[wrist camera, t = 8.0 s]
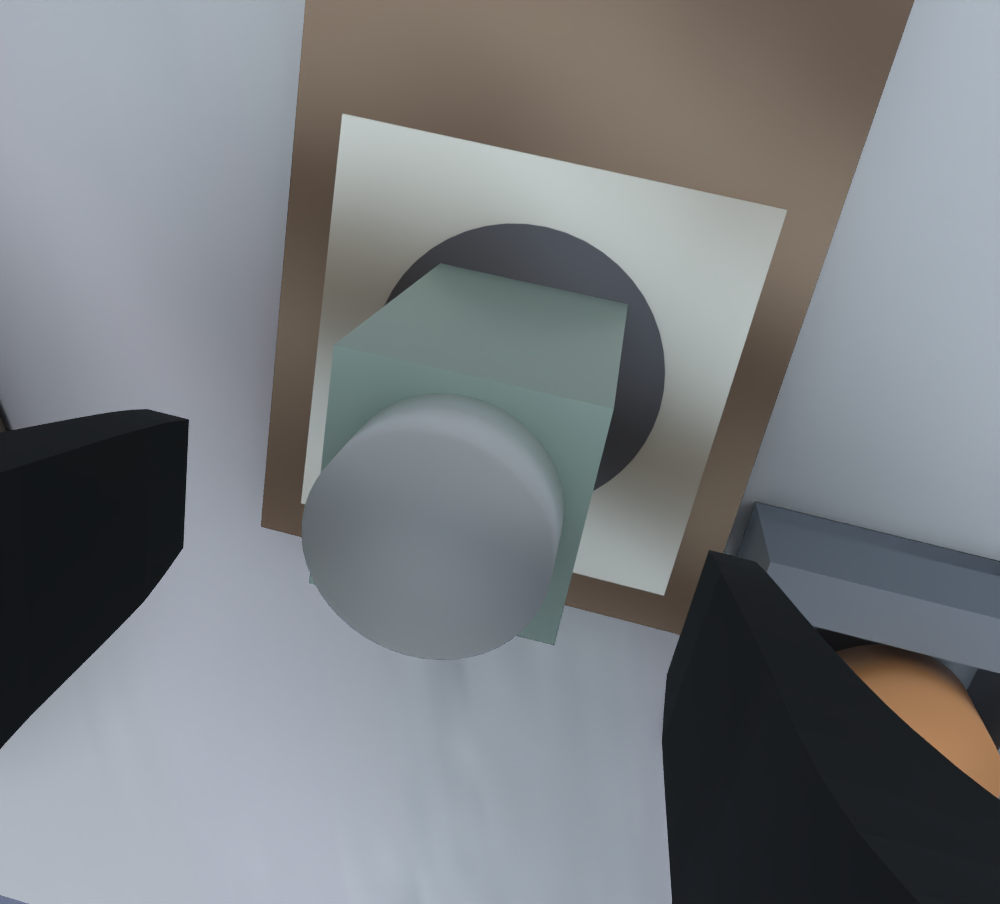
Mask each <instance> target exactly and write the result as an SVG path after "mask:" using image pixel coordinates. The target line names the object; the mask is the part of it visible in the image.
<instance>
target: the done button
mask: <svg viewBox="0 0 1000 904" xmlns="http://www.w3.org/2000/svg"><path fill="white" fill-rule="evenodd" d="M836 653H837V654H838V655H839V656H840V657H841V659H842V660H843V661H844V662H845V663H846V664H847V665H848V666H849V667H850V668H851V669H852V670H853V671H854V672H855V673H856V674H857V675H858V676H859V677H860V678H861V679H862V681H863V682H864V683H865V684H866V685H867V686H868V687H869V688H870V689H871V690H872V691H873V692H874V693H875V694H876V695H877V696H878V697H879V698H880V699H881V700H882V701H883V702H884V703H885V704H886V705H887V706H888V707H890V708H891V709H892V710H893V711H894V712H895V713H896V714H897V715H898V716H899V717H900V718H901V719H902V720H903V721H905V722H906V723H907V724H908V725H909V726H910V727H911V728H912V729H913V730H915V731H916V732H917V733H918V734H919V735H920V736H922V737H923V738H924V739H925V740H926V741H927V742H929V743H930V744H931V745H932V746H933V747H934V748H936V749H937V750H938V751H939V752H940V753H941V754H943V755H944V756H945V757H946V758H947V759H948V760H950V761H951V762H952V763H953V764H954V765H955V766H957V767H958V768H959V769H960V770H962V771H963V772H964V773H965V774H967V775H968V776H969V777H971V778H972V779H973V780H974V781H976V782H977V783H978V784H980V785H981V786H982V787H983V788H985V789H986V790H987V791H989V792H990V793H991V794H993V795H994V796H995V797H997V798H999V796H1000V755H999V753H998V751H997V748H996V746H995V744H994V742H993V741H992V739H991V737H990V735H989V733H988V731H987V729H986V727H985V725H984V723H983V721H982V720H981V718H980V716H979V714H978V712H977V710H976V708H975V706H974V704H973V702H972V701H971V699H970V697H969V695H968V693H967V691H966V689H965V687H964V686H963V684H962V683H961V681H960V680H959V678H958V677H957V676H956V675H955V674H954V673H953V672H952V671H951V670H950V669H949V668H947V667H946V666H945V665H944V664H942V663H941V662H939V661H937V660H936V659H934V658H933V657H931V656H928V655H925V654H921V653H917V652H913V651H909V650H905V649H902V648H898V647H894V646H890V645H864V646H856V647H852V648H847V649H843V650H840V651H837V652H836Z"/></svg>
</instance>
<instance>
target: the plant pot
mask: <svg viewBox="0 0 1000 904" xmlns="http://www.w3.org/2000/svg"><path fill="white" fill-rule="evenodd" d="M1 432H6V429H5V426H4V424H3V422H2V419H1V417H0V433H1Z"/></svg>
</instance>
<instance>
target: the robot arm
mask: <svg viewBox="0 0 1000 904" xmlns="http://www.w3.org/2000/svg"><path fill="white" fill-rule="evenodd" d="M188 427H189V420H188V419H184V418H180V417H176V416H172V415H168V414H164V413H160V412H156V411H152V410H148V409H142V410H126V411H118V412H110V413H104V414H98V415H92V416H86V417H80V418H75V419H70V420H64V421H59V422H54V423H48V424H43V425H38V426H32V427H27V428H22V429H17V430H11V431H6V432H1V433H0V749H1V748H2V746H3V745H4V744H5V743H6V742H7V741H8V740H9V739H10V737H11V736H12V735H13V734H14V733H15V732H16V731H17V730H18V729H19V728H20V727H21V725H22V724H23V723H24V722H25V721H26V720H27V719H28V718H29V717H30V716H31V715H32V714H33V713H34V712H35V711H36V710H37V709H38V708H39V707H40V706H41V705H42V704H43V703H44V702H45V701H46V700H47V699H48V698H49V697H50V696H51V695H52V694H53V693H54V692H55V691H56V690H57V689H58V688H59V687H60V686H61V685H62V684H63V683H64V682H65V681H66V680H67V679H68V678H69V677H70V676H71V675H72V674H73V673H74V672H75V671H76V670H77V669H78V668H79V667H80V666H81V665H82V664H83V663H84V662H85V661H86V660H87V659H88V658H89V657H90V656H91V655H92V654H93V653H94V652H95V651H96V650H97V649H98V648H99V647H100V646H101V645H102V644H103V643H104V642H105V641H106V640H107V639H108V638H109V637H110V636H111V635H112V634H113V633H114V632H115V631H116V630H117V629H118V628H119V627H120V626H121V625H122V624H123V623H124V622H125V621H126V620H127V619H128V618H129V617H130V616H131V614H132V613H133V612H134V611H135V610H136V609H137V608H138V607H139V606H140V605H141V604H142V603H143V602H144V601H145V599H146V598H147V597H148V596H149V594H150V593H151V592H152V590H153V589H154V588H155V586H156V585H157V584H158V582H159V581H160V580H161V579H162V577H163V576H164V574H165V573H166V571H167V570H168V569H169V567H170V566H171V564H172V563H173V562H174V560H175V559H176V557H177V556H178V554H179V553H180V552H181V550H182V549H183V541H184V518H185V495H186V473H187V450H188ZM662 750H663V768H664V784H665V800H666V815H667V830H668V845H669V860H670V875H671V890H672V904H1000V799H998V798H997V797H995V796H994V795H993V794H991V793H990V792H989V791H987V790H986V789H985V788H983V787H982V786H981V785H980V784H978V783H977V782H976V781H974V780H973V779H972V778H971V777H969V776H968V775H967V774H965V773H964V772H963V771H962V770H960V769H959V768H958V767H957V766H955V765H954V764H953V763H952V762H951V761H950V760H948V759H947V758H946V757H945V756H944V755H943V754H941V753H940V752H939V751H938V750H937V749H936V748H934V747H933V746H932V745H931V744H930V743H929V742H927V741H926V740H925V739H924V738H923V737H922V736H920V735H919V734H918V733H917V732H916V731H915V730H913V729H912V728H911V727H910V726H909V725H908V724H907V723H906V722H905V721H903V720H902V719H901V718H900V717H899V716H898V715H897V714H896V713H895V712H894V711H893V710H892V709H891V708H890V707H888V706H887V705H886V704H885V703H884V702H883V701H882V700H881V699H880V698H879V697H878V696H877V695H876V694H875V693H874V692H873V691H872V690H871V689H870V688H869V687H868V686H867V685H866V684H865V683H864V682H863V681H862V679H861V678H860V677H859V676H858V675H857V674H856V673H855V672H854V671H853V670H852V669H851V668H850V667H849V666H848V665H847V664H846V663H845V662H844V661H843V660H842V659H841V657H840V656H839V655H838V654H837V653H836V652H835V651H834V650H833V649H832V648H831V646H830V645H829V644H828V643H827V642H826V641H825V640H824V639H823V637H822V636H821V635H820V634H819V633H818V632H817V631H816V629H815V628H814V627H813V626H812V625H811V624H810V623H809V621H808V620H807V619H806V618H805V617H804V616H803V614H802V613H801V612H800V611H799V610H798V608H797V607H796V606H795V605H794V604H793V603H792V601H791V600H790V599H789V598H788V597H787V595H786V594H785V593H784V592H783V591H782V590H781V588H780V587H779V586H778V585H777V584H776V583H775V581H774V580H773V579H772V578H771V577H770V576H769V575H768V573H767V572H766V571H765V570H764V569H763V568H762V567H761V566H760V565H759V564H758V563H757V562H755V561H751V560H747V559H743V558H739V557H735V556H731V555H727V554H723V553H719V552H715V551H711V550H709V551H708V554H707V557H706V560H705V563H704V566H703V569H702V572H701V575H700V578H699V581H698V584H697V587H696V590H695V593H694V596H693V599H692V602H691V605H690V608H689V611H688V614H687V617H686V620H685V623H684V626H683V629H682V632H681V635H680V638H679V641H678V644H677V646H676V649H675V652H674V655H673V658H672V661H671V664H670V667H669V670H668V673H667V680H666V692H665V704H664V718H663V733H662ZM0 904H27V903H24V902H21V901H18V900H14V899H11V898H8V897H4V896H1V895H0Z"/></svg>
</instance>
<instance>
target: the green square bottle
mask: <svg viewBox="0 0 1000 904" xmlns="http://www.w3.org/2000/svg"><path fill="white" fill-rule="evenodd" d="M627 307H628V304H625V303H620V302H615V301H611V300H606V299H602V298H597V297H593V296H588V295H583V294H579V293H574V292H570V291H565V290H561V289H556V288H551V287H547V286H542V285H538V284H533V283H528V282H524V281H519V280H515V279H510V278H506V277H501V276H496V275H492V274H487V273H483V272H478V271H474V270H469V269H464V268H460V267H455V266H451V265H446V264H441V263H440V264H439V265H437V266H436V267H435V268H434V269H432V270H431V271H430V272H428V273H427V274H426V275H424V276H423V277H422V278H420V279H419V280H418V281H417V282H415V283H414V284H413V285H411V286H410V287H409V288H407V289H406V290H405V291H403V292H402V293H401V294H400V295H398V296H397V297H396V298H394V299H393V300H392V301H390V302H389V303H388V304H386V305H385V306H384V307H383V308H381V309H380V310H379V311H377V312H376V313H375V314H373V315H372V316H371V317H369V318H368V319H367V320H366V321H364V322H363V323H362V324H360V325H359V326H358V327H356V328H355V329H354V330H352V331H351V332H350V333H349V334H347V335H346V336H345V337H343V338H342V339H341V340H339V341H338V342H337V343H336V344H334V348H333V358H332V367H331V377H330V387H329V396H328V406H327V415H326V425H325V435H324V444H323V454H322V463H321V473H320V475H319V476H318V478H317V479H316V481H315V482H314V484H313V486H312V488H311V490H310V492H309V495H308V498H307V501H306V504H305V507H304V512H303V518H302V535H301V536H302V545H303V552H304V556H305V560H306V564H307V567H308V569H309V572H310V579H309V583H311V584H315V585H316V586H317V588H318V590H319V592H320V593H321V595H322V596H323V598H324V599H325V600H326V602H327V603H328V605H329V606H330V607H331V608H332V609H333V610H334V611H335V612H336V614H337V615H338V616H339V617H340V618H341V619H343V620H344V621H345V622H346V623H347V624H348V625H349V626H350V627H352V628H353V629H354V630H356V631H357V632H359V633H360V634H361V635H363V636H364V637H366V638H368V639H370V640H371V641H373V642H375V643H377V644H379V645H381V646H383V647H385V648H388V649H390V650H392V651H395V652H399V653H402V654H405V655H409V656H413V657H418V658H424V659H435V660H451V659H460V658H468V657H472V656H476V655H479V654H483V653H486V652H488V651H491V650H493V649H496V648H498V647H499V646H501V645H503V644H505V643H506V642H508V641H510V640H511V639H512V638H514V637H515V636H519V637H523V638H527V639H531V640H535V641H539V642H543V643H547V644H551V645H554V644H555V640H556V636H557V632H558V628H559V624H560V620H561V616H562V612H563V608H564V604H565V600H566V596H567V592H568V588H569V584H570V580H571V576H572V573H573V569H574V565H575V561H576V557H577V553H578V549H579V545H580V541H581V537H582V533H583V529H584V525H585V521H586V517H587V513H588V509H589V505H590V501H591V497H592V493H593V489H594V485H595V481H596V477H597V473H598V469H599V465H600V461H601V458H602V454H603V450H604V446H605V442H606V438H607V434H608V430H609V426H610V422H611V418H612V414H613V410H614V403H615V396H616V389H617V381H618V374H619V366H620V359H621V352H622V344H623V337H624V329H625V322H626V315H627Z"/></svg>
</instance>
